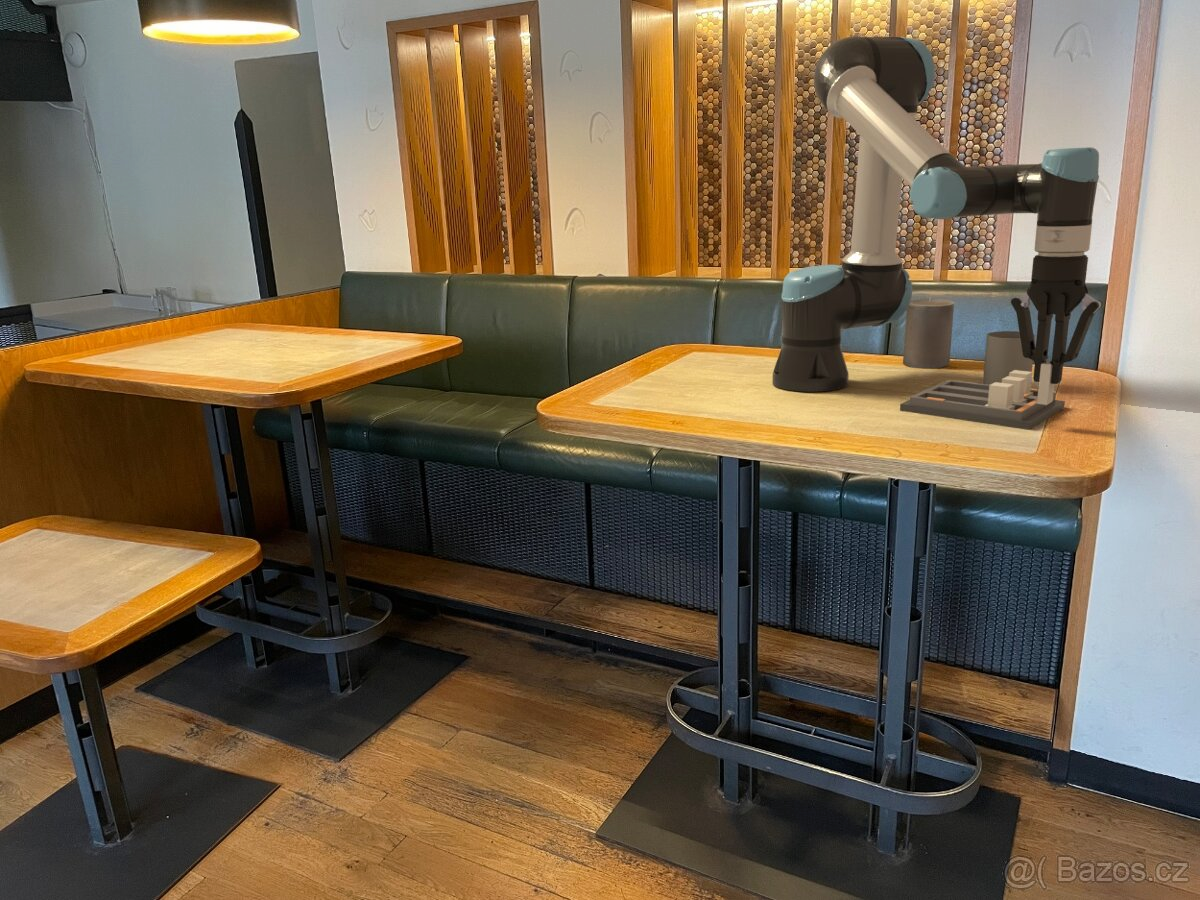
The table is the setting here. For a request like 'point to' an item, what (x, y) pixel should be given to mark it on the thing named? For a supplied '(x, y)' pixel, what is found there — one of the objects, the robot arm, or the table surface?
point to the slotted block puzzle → (979, 405)
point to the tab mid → (1016, 387)
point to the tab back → (1024, 375)
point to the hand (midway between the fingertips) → (1044, 402)
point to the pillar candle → (928, 333)
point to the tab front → (1001, 395)
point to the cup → (1004, 356)
